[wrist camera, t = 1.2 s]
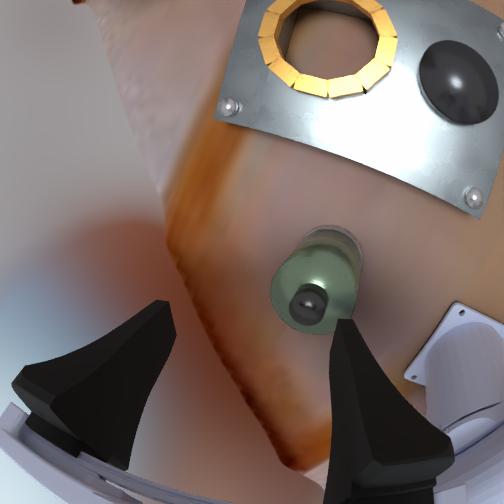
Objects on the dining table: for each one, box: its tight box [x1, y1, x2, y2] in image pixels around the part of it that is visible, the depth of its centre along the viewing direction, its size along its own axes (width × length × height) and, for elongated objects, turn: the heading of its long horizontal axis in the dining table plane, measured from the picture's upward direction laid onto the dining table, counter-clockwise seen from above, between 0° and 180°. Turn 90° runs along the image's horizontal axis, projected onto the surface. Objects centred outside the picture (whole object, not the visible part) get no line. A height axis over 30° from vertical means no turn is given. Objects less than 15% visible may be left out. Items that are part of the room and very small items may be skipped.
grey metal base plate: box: [214, 0, 504, 220], centre depth 12 cm, size 20×14×3 cm
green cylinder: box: [270, 225, 363, 335], centre depth 17 cm, size 5×5×7 cm
